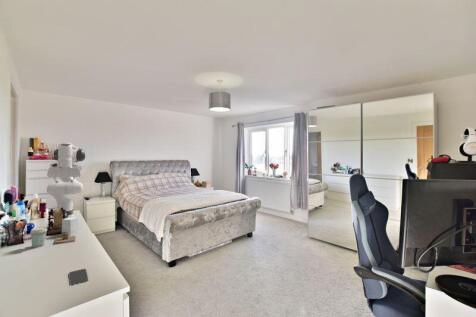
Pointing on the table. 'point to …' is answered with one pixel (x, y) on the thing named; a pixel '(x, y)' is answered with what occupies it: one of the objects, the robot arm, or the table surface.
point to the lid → (64, 238)
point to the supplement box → (70, 226)
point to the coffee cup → (38, 236)
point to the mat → (66, 242)
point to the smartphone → (78, 276)
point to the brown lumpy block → (55, 221)
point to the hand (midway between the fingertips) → (64, 182)
